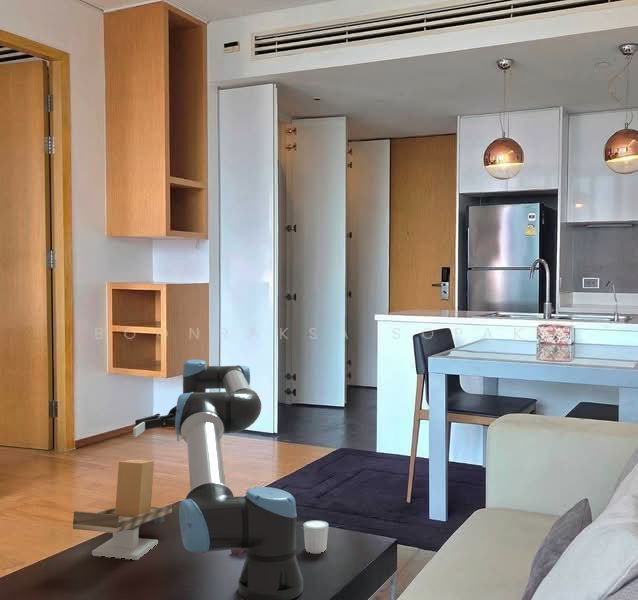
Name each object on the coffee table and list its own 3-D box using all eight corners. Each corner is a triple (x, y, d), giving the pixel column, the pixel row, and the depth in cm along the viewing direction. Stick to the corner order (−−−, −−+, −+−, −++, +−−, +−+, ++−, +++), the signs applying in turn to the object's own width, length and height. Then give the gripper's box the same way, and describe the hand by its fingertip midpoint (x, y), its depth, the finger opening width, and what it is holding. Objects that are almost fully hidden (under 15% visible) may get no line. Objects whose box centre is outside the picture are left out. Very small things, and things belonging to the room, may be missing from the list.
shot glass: (332, 552, 194) (332, 526, 194) (307, 555, 191) (308, 529, 191) (323, 543, 200) (323, 518, 200) (299, 546, 198) (299, 521, 198)
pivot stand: (137, 560, 187) (137, 537, 187) (91, 555, 190) (91, 532, 190) (157, 544, 199) (157, 522, 199) (115, 540, 202) (115, 518, 202)
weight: (138, 516, 194) (142, 463, 196) (115, 514, 196) (118, 461, 198) (150, 512, 201) (153, 461, 203) (127, 510, 203) (131, 459, 204)
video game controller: (243, 561, 191) (254, 538, 190) (228, 552, 192) (240, 529, 191) (253, 548, 201) (264, 526, 200) (239, 539, 202) (250, 518, 201)
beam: (115, 543, 177) (117, 515, 178) (71, 539, 180) (73, 511, 181) (171, 521, 208) (172, 497, 209) (133, 518, 211) (134, 494, 212)
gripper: (220, 429, 231) (196, 451, 210) (146, 422, 235) (116, 443, 214) (220, 406, 230) (196, 425, 209) (146, 400, 234) (116, 418, 214)
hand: (156, 434), depth 212 cm, fingers open, 13 cm apart
